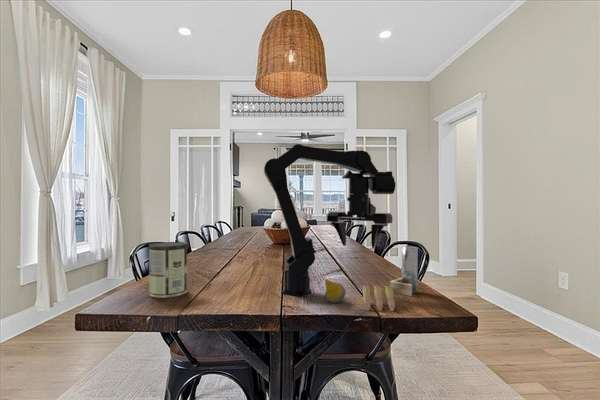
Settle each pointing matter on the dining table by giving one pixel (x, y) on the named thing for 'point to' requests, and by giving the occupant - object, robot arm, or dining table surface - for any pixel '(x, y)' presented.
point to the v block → (401, 287)
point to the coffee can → (168, 269)
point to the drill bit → (334, 292)
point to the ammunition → (378, 297)
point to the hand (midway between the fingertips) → (358, 246)
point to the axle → (410, 266)
